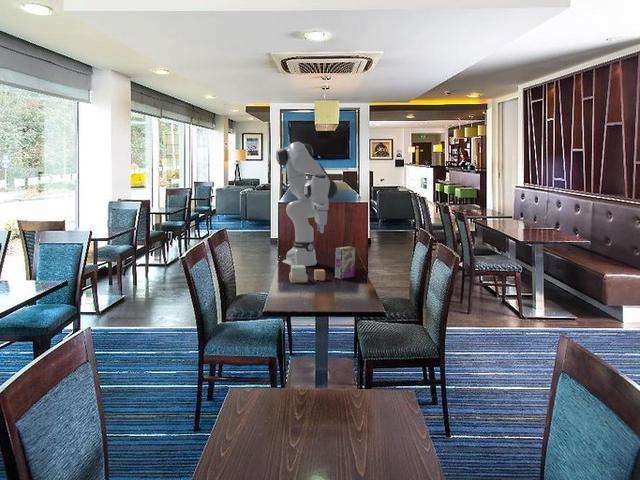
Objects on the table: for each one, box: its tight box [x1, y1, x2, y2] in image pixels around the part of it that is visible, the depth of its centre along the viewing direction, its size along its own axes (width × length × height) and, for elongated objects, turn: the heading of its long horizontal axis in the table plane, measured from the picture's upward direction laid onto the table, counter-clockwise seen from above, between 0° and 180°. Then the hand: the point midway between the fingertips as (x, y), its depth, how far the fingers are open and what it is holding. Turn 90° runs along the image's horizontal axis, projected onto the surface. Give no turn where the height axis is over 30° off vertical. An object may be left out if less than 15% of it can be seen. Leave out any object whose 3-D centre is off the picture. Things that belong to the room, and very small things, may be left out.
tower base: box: [288, 271, 309, 284], centre depth 295 cm, size 8×8×4 cm
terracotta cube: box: [313, 268, 326, 281], centre depth 298 cm, size 5×5×5 cm
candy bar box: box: [334, 246, 356, 280], centre depth 302 cm, size 11×5×16 cm, turn 135°
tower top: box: [290, 265, 307, 275], centre depth 295 cm, size 7×7×4 cm
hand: (320, 232), depth 295 cm, fingers open, 8 cm apart
